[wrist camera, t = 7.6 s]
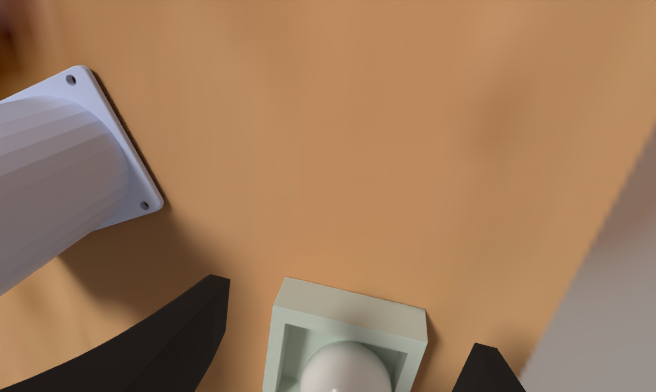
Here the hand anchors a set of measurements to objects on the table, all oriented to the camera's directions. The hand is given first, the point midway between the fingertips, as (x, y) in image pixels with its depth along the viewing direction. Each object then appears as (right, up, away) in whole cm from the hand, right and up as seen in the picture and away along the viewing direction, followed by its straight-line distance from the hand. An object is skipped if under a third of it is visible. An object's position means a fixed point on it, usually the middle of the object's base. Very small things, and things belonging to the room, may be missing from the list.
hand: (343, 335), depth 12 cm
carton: (0, -8, +14) cm, 17 cm away
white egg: (0, -5, +12) cm, 13 cm away
